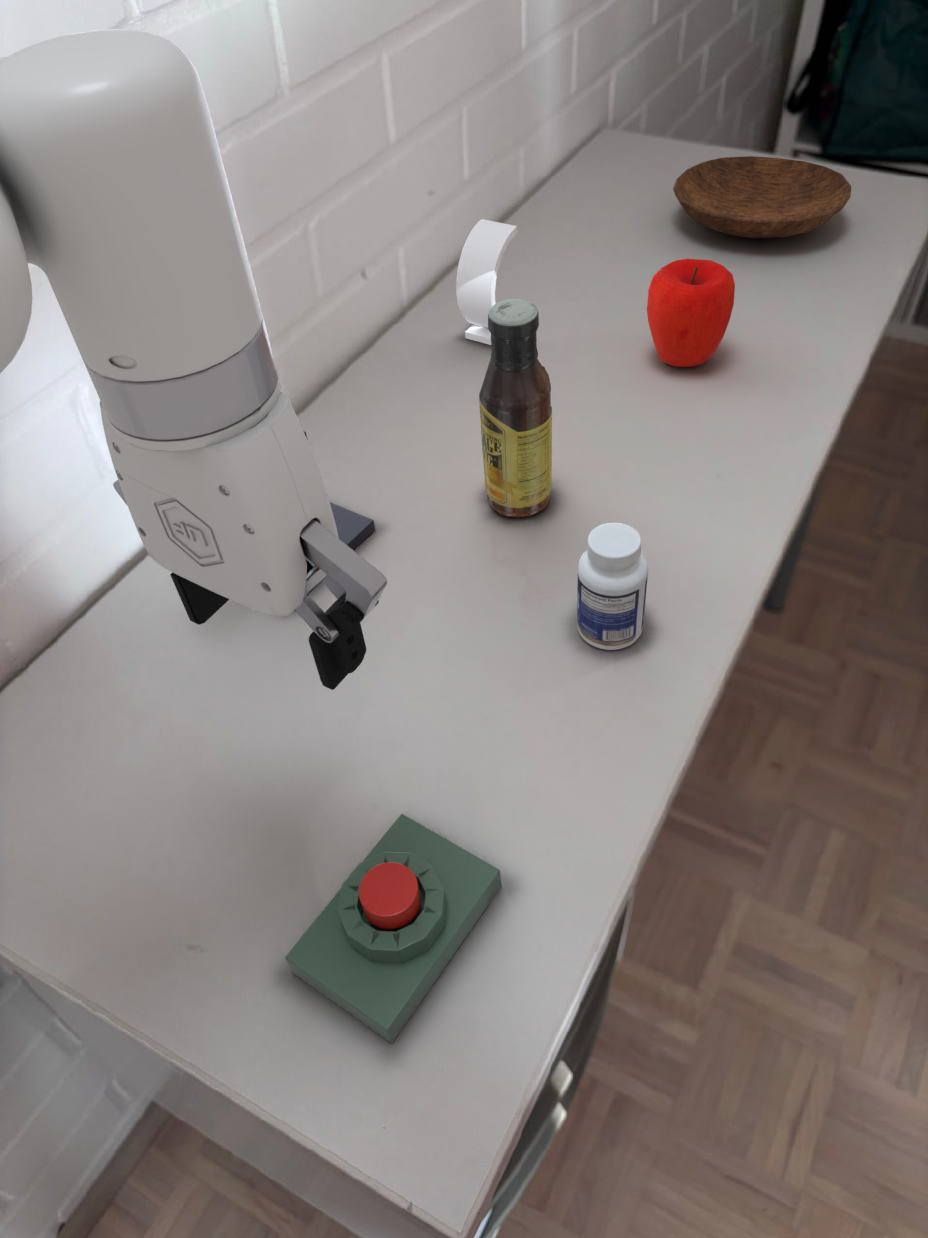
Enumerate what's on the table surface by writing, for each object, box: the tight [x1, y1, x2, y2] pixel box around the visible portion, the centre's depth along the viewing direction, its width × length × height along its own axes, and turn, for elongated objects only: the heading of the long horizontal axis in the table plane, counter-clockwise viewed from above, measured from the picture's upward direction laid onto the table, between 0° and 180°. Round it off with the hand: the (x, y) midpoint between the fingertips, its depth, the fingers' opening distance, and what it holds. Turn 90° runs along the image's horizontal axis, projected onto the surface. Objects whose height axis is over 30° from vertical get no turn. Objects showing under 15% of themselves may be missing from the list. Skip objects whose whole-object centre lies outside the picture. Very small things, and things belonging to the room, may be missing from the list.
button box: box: [284, 813, 502, 1044], centre depth 60 cm, size 12×8×4 cm, turn 146°
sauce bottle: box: [478, 298, 553, 518], centre depth 82 cm, size 7×6×20 cm
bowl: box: [672, 155, 852, 239], centre depth 123 cm, size 20×22×5 cm
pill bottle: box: [576, 522, 649, 651], centre depth 74 cm, size 5×5×10 cm
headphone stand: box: [455, 218, 518, 346], centre depth 106 cm, size 5×6×12 cm
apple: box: [646, 258, 736, 368], centre depth 100 cm, size 9×9×11 cm
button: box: [359, 862, 421, 929], centre depth 58 cm, size 4×4×2 cm
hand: (277, 637), depth 53 cm, fingers open, 9 cm apart
